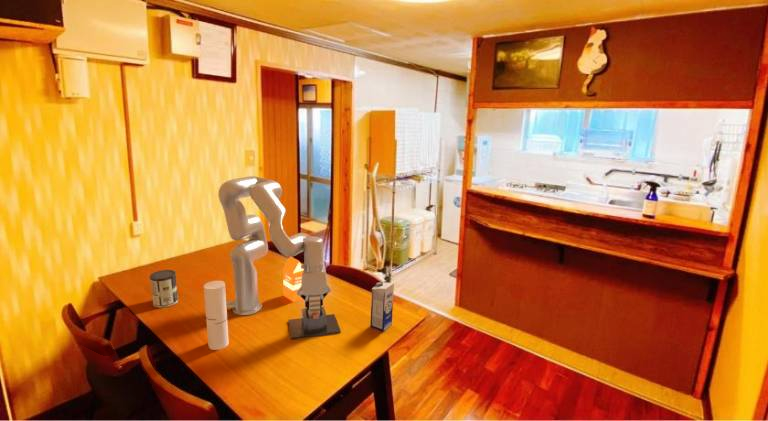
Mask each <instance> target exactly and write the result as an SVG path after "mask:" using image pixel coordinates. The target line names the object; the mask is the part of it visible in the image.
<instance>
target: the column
mask: <svg viewBox="0 0 768 421" xmlns="http://www.w3.org/2000/svg"><path fill="white" fill-rule="evenodd" d="M308 299H309V310H308V317H312V313H318V314H319V316H320V295H310V296H309V298H308Z"/></svg>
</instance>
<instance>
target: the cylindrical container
mask: <svg viewBox="0 0 768 421" xmlns="http://www.w3.org/2000/svg"><path fill="white" fill-rule="evenodd" d="M203 295H204V307H205V319H206V330H207V344H208V348H209V349H210V350H214V351H218V350H223V349H225V348H226V347H228V345H229V340H230V339H229V327H228V326H229V325H228V312H227V306H226V302H227V296H226V283H225V281H223V280H212V281H208V282H206V283H204V284H203Z"/></svg>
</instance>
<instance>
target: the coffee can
mask: <svg viewBox="0 0 768 421" xmlns="http://www.w3.org/2000/svg"><path fill="white" fill-rule="evenodd" d="M149 281H150V291H151V295H152V296H151V297H152V305H153V307H155V308H159V309H160V308H167V307H171V306H174V305H175V304H177V303H178V302H179V297H178V296H179V295H178V286H177V277H176V271H175V270H172V269H163V270H158V271H154V272H152V273H151V274H150V275H149Z"/></svg>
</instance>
